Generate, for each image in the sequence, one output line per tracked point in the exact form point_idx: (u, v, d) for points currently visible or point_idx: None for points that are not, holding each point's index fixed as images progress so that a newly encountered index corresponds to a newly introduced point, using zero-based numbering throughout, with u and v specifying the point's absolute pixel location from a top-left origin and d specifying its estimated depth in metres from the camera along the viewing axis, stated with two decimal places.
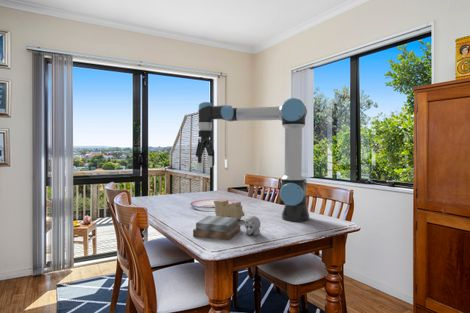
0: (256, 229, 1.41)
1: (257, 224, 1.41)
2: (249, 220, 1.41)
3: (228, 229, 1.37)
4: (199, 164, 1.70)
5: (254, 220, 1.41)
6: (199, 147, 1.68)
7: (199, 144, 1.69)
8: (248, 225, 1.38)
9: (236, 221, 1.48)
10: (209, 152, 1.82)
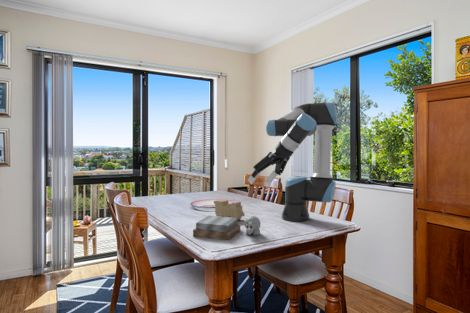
0: (256, 229, 1.41)
1: (257, 224, 1.41)
2: (249, 220, 1.41)
3: (228, 229, 1.37)
4: None
5: (254, 220, 1.41)
6: None
7: None
8: (248, 225, 1.38)
9: (236, 221, 1.48)
10: None
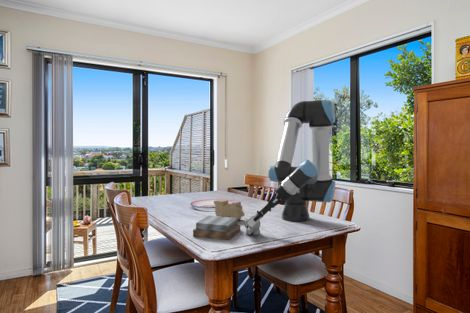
0: (256, 229, 1.41)
1: (257, 224, 1.41)
2: (249, 220, 1.41)
3: (228, 229, 1.37)
4: None
5: None
6: None
7: None
8: (248, 225, 1.38)
9: (236, 221, 1.48)
10: None
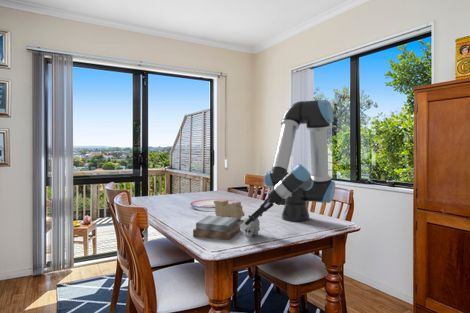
0: (255, 230, 1.40)
1: (256, 225, 1.39)
2: None
3: (228, 229, 1.37)
4: None
5: None
6: None
7: None
8: (246, 229, 1.36)
9: (236, 221, 1.48)
10: None
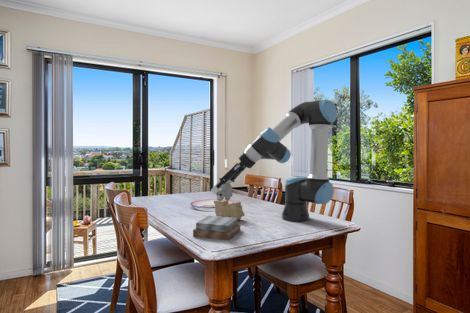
0: (227, 194, 1.43)
1: (228, 190, 1.42)
2: None
3: (228, 229, 1.37)
4: None
5: (224, 186, 1.41)
6: None
7: None
8: (218, 193, 1.39)
9: (236, 221, 1.48)
10: None
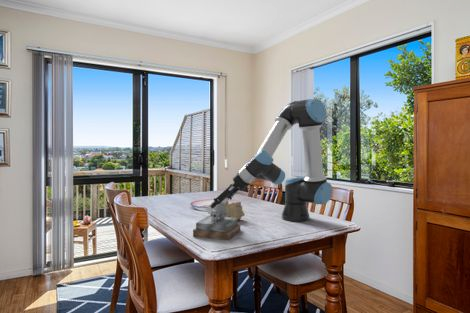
0: (221, 214, 1.44)
1: (222, 210, 1.43)
2: None
3: (228, 229, 1.37)
4: None
5: (218, 207, 1.43)
6: None
7: None
8: (212, 214, 1.40)
9: (236, 221, 1.48)
10: None
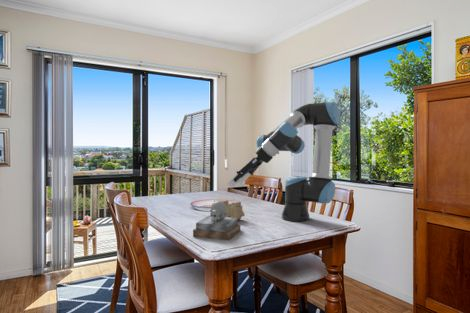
0: (221, 214, 1.44)
1: (222, 210, 1.43)
2: (214, 207, 1.43)
3: (228, 229, 1.37)
4: None
5: (218, 207, 1.43)
6: None
7: None
8: (212, 214, 1.40)
9: (236, 221, 1.48)
10: None
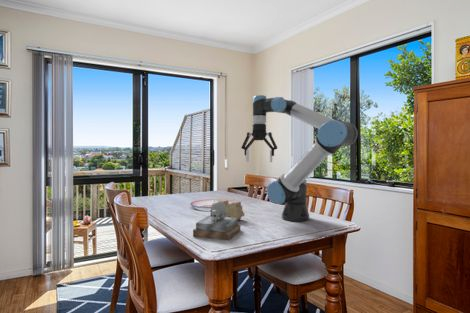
0: (221, 214, 1.44)
1: (222, 210, 1.43)
2: (214, 207, 1.43)
3: (228, 229, 1.37)
4: (271, 157, 1.73)
5: (218, 207, 1.43)
6: (274, 141, 1.73)
7: (272, 138, 1.72)
8: (212, 214, 1.40)
9: (236, 221, 1.48)
10: (249, 146, 1.77)
